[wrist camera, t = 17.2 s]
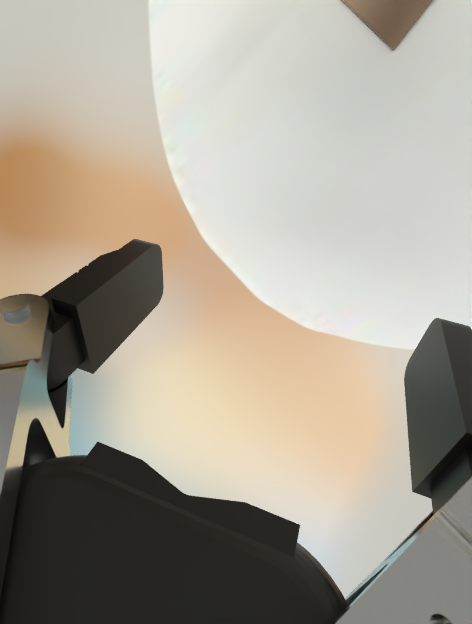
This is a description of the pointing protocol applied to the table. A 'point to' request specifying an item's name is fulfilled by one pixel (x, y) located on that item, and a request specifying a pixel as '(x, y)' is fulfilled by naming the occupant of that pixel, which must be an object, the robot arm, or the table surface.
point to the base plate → (388, 16)
